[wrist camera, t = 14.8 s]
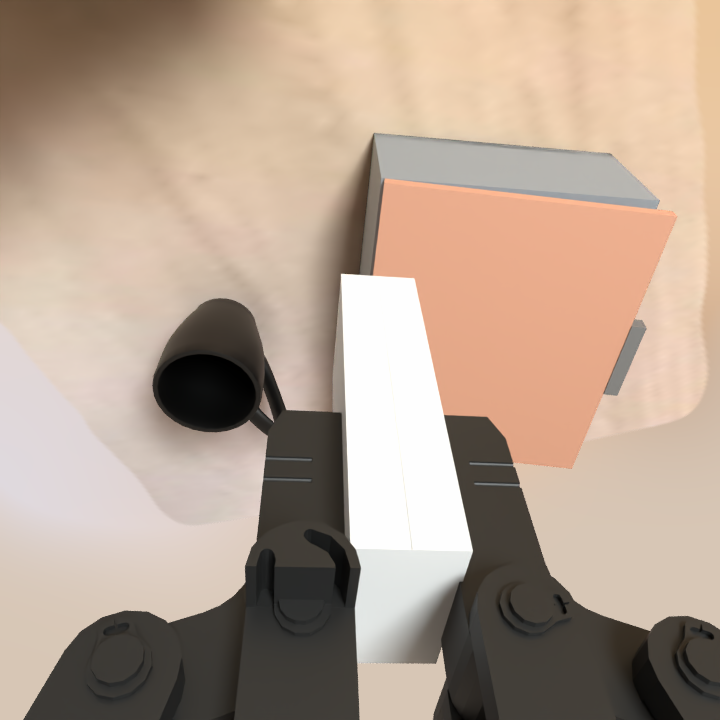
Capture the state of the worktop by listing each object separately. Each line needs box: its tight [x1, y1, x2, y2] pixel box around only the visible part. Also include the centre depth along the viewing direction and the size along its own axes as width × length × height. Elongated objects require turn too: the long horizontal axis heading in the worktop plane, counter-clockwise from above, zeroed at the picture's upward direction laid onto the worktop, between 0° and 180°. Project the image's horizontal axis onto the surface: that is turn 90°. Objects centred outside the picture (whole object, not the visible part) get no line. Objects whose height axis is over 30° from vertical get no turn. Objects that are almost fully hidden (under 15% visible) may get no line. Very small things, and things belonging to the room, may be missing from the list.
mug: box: [152, 298, 286, 436], centre depth 53 cm, size 8×12×10 cm
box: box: [359, 133, 660, 276], centre depth 50 cm, size 18×22×9 cm
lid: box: [373, 178, 677, 469], centre depth 45 cm, size 19×22×1 cm
